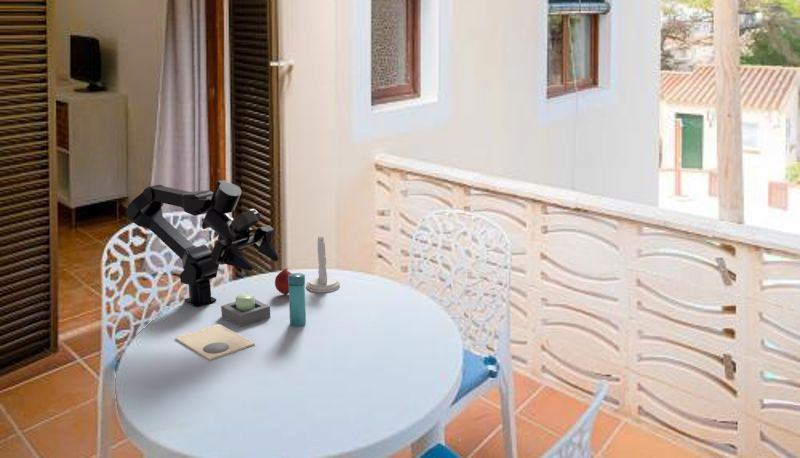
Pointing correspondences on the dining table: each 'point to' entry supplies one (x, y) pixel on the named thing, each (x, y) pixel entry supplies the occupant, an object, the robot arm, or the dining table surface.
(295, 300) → the ball
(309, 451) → the dining table surface
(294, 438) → the dining table surface
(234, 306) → the button housing
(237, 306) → the button
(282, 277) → the onion
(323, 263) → the paper towel holder
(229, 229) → the robot arm
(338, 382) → the dining table surface
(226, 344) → the sheet
